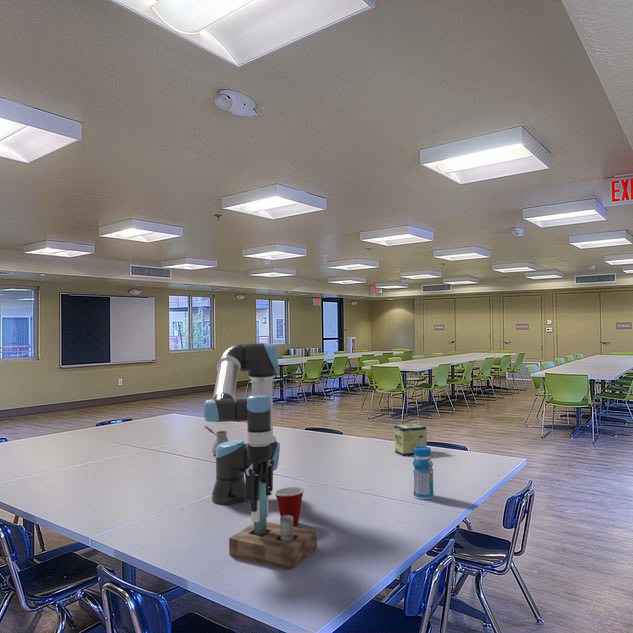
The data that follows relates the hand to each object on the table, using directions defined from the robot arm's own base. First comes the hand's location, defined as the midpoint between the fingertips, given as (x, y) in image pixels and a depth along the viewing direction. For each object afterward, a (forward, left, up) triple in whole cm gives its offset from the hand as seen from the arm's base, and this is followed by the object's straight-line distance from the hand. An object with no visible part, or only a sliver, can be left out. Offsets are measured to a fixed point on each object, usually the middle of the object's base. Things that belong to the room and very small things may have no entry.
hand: (260, 518), depth 150 cm
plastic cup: (-21, -2, -9) cm, 23 cm away
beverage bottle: (-70, +33, -9) cm, 78 cm away
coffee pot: (-95, -98, -9) cm, 137 cm away
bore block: (0, +5, -9) cm, 10 cm away
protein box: (-141, +6, -9) cm, 142 cm away
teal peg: (0, 0, -4) cm, 4 cm away
